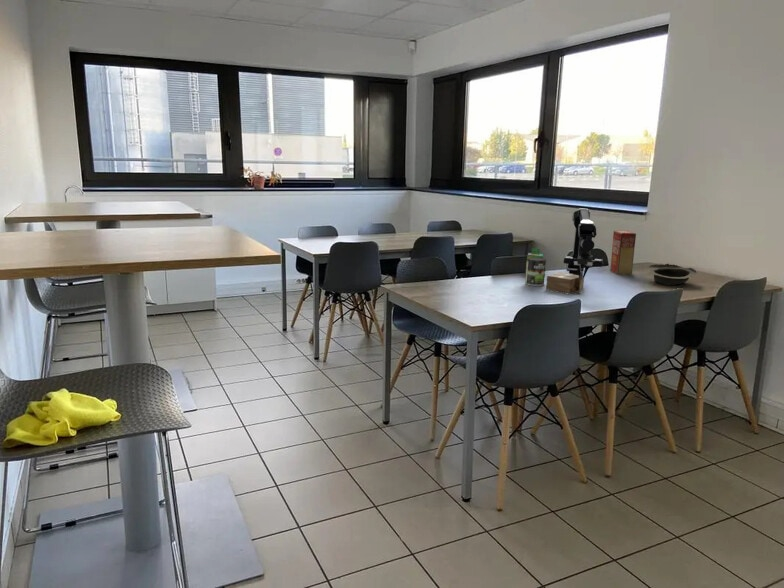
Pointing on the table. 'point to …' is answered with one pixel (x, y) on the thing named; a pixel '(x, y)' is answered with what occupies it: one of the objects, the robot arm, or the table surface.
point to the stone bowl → (671, 274)
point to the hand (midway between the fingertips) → (581, 278)
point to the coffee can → (535, 271)
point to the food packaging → (622, 252)
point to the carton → (563, 282)
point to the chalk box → (535, 254)
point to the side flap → (581, 282)
